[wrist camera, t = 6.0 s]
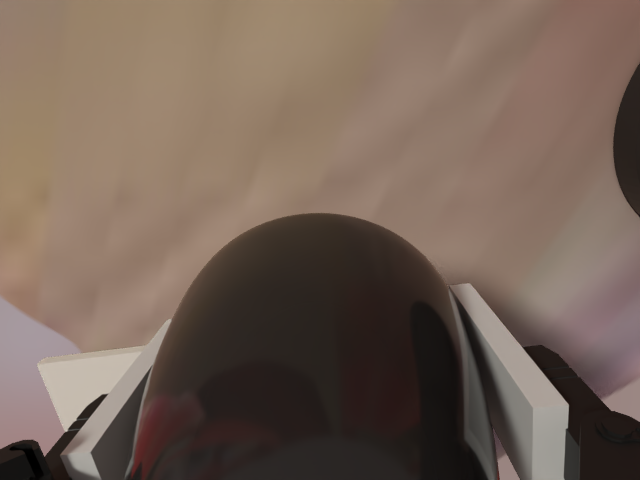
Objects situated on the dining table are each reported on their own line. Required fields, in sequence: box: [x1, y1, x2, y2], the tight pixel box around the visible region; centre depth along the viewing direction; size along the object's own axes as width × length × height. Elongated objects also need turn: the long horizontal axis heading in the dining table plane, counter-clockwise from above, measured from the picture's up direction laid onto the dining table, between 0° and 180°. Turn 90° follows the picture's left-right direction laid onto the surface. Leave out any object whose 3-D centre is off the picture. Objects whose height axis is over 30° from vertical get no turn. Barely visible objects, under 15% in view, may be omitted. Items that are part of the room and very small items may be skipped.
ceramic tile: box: [37, 345, 147, 432], centre depth 31 cm, size 16×16×1 cm
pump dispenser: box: [123, 213, 500, 480], centre depth 11 cm, size 10×10×15 cm
